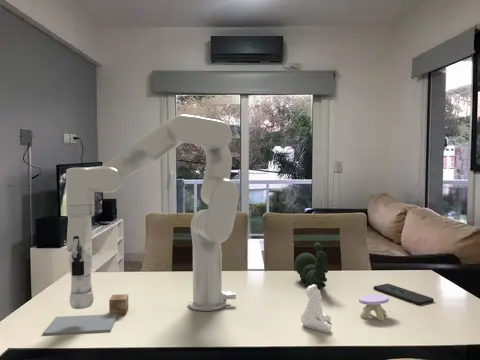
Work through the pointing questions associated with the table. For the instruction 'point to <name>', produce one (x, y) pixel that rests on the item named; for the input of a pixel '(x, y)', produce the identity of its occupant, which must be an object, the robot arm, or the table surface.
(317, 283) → the toy figurine
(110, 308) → the walnut block
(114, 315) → the slate mat
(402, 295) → the smart home device
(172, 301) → the table surface
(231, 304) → the table surface
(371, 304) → the toy table
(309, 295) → the seated beast figurine
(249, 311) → the table surface
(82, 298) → the plastic bottle
